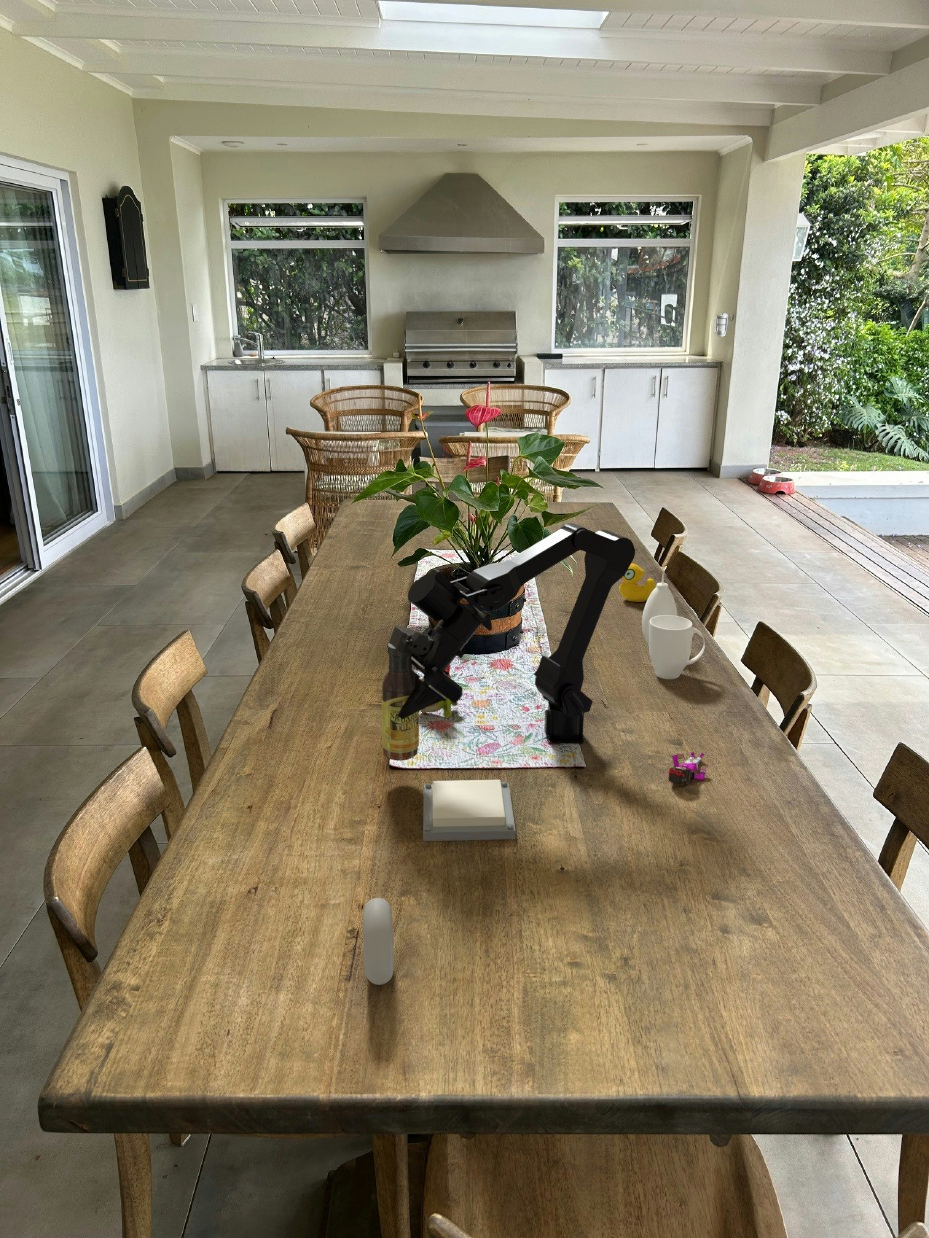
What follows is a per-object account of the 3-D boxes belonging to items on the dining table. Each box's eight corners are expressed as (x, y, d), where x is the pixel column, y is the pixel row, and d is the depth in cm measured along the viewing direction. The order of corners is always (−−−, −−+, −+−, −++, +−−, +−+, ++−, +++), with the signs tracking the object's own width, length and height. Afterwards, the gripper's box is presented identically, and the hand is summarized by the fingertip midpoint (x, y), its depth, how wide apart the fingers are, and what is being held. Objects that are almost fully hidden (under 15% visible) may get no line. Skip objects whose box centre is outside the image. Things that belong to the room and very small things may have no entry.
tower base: (508, 790, 153) (508, 774, 152) (515, 838, 140) (515, 822, 138) (424, 792, 152) (423, 776, 151) (423, 840, 139) (422, 824, 138)
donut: (366, 946, 117) (363, 881, 114) (393, 945, 118) (391, 880, 114) (364, 1004, 108) (361, 935, 105) (394, 1003, 108) (391, 934, 105)
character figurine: (681, 762, 164) (660, 785, 153) (685, 735, 162) (664, 757, 152) (713, 771, 161) (694, 795, 151) (717, 744, 160) (698, 766, 149)
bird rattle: (421, 730, 178) (463, 716, 175) (397, 680, 175) (439, 665, 172) (427, 716, 183) (468, 702, 181) (404, 667, 180) (445, 653, 178)
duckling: (609, 601, 240) (611, 565, 237) (613, 595, 245) (615, 559, 241) (652, 606, 237) (655, 569, 233) (656, 600, 241) (658, 563, 238)
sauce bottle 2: (678, 653, 207) (684, 578, 201) (643, 653, 207) (648, 577, 201) (671, 640, 214) (677, 567, 208) (637, 640, 215) (642, 567, 208)
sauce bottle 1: (391, 766, 151) (386, 655, 144) (376, 750, 156) (371, 642, 149) (427, 756, 154) (424, 647, 147) (411, 741, 159) (407, 634, 152)
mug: (649, 682, 193) (652, 628, 189) (643, 666, 201) (647, 614, 197) (705, 683, 192) (710, 629, 188) (697, 667, 200) (702, 615, 196)
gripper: (395, 592, 156) (337, 664, 155) (443, 627, 140) (379, 708, 139) (438, 627, 162) (383, 696, 161) (489, 664, 146) (428, 742, 145)
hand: (392, 709), depth 151 cm, fingers closed on sauce bottle 1, 6 cm apart
